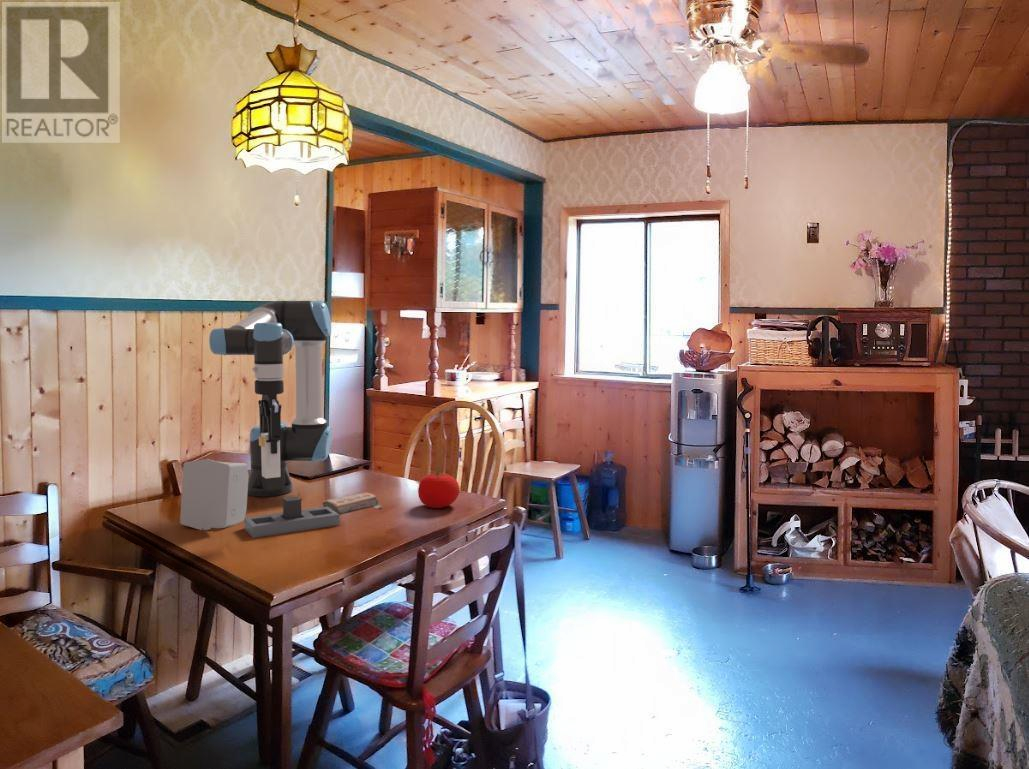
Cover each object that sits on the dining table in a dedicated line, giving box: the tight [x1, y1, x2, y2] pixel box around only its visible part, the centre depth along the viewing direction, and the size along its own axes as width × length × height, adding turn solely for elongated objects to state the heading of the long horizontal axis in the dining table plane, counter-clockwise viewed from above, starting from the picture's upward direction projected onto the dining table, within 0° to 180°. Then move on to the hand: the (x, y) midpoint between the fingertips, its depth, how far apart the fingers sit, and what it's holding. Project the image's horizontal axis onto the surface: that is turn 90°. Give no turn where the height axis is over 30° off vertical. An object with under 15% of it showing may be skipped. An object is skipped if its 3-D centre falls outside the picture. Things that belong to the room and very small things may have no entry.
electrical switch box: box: [179, 458, 249, 531], centre depth 220 cm, size 15×15×20 cm
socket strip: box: [243, 506, 341, 539], centre depth 213 cm, size 10×24×4 cm, turn 123°
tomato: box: [417, 472, 460, 509], centre depth 240 cm, size 12×13×11 cm
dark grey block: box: [282, 496, 302, 520], centre depth 213 cm, size 4×4×8 cm
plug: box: [259, 433, 281, 478], centre depth 208 cm, size 4×5×12 cm
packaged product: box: [322, 491, 383, 515], centre depth 234 cm, size 18×5×10 cm
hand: (270, 463), depth 208 cm, fingers closed on plug, 4 cm apart
